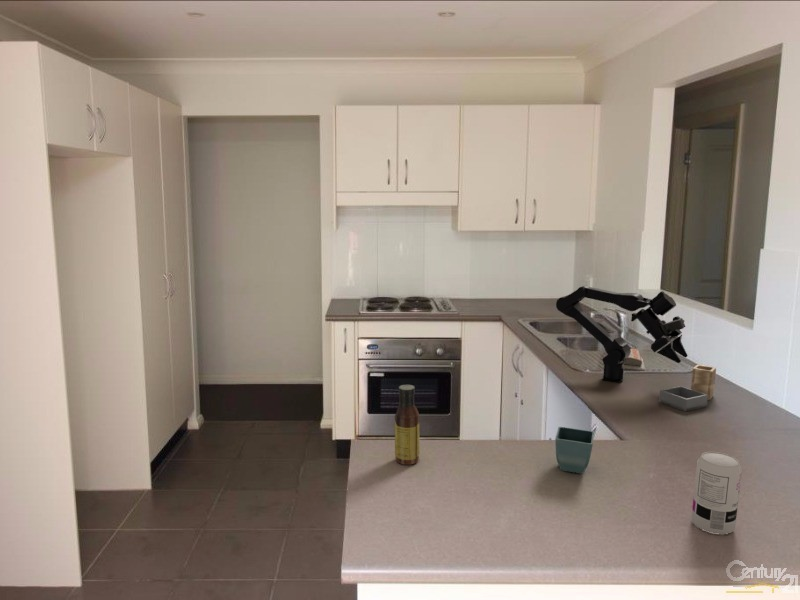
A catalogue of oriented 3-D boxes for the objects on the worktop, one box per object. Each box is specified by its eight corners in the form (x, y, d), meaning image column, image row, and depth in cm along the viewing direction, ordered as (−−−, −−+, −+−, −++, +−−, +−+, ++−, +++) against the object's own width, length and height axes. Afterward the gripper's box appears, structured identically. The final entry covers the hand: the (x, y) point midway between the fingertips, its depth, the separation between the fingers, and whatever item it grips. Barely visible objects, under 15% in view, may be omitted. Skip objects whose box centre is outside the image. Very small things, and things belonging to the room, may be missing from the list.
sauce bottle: (407, 453, 165) (408, 380, 162) (424, 461, 161) (426, 386, 157) (388, 461, 161) (389, 386, 157) (406, 468, 156) (407, 392, 153)
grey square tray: (658, 401, 208) (660, 390, 207) (679, 397, 213) (680, 385, 212) (685, 411, 199) (687, 399, 199) (706, 406, 204) (708, 394, 203)
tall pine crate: (690, 396, 214) (693, 368, 212) (694, 392, 218) (697, 364, 217) (709, 400, 210) (712, 371, 208) (713, 395, 215) (716, 367, 213)
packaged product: (617, 346, 263) (643, 348, 260) (616, 357, 264) (641, 360, 261) (618, 357, 246) (646, 359, 243) (617, 369, 247) (644, 371, 244)
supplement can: (683, 516, 135) (690, 450, 133) (720, 515, 136) (727, 450, 133) (704, 537, 127) (712, 467, 125) (743, 536, 128) (751, 466, 125)
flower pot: (591, 464, 160) (594, 430, 159) (590, 479, 152) (592, 443, 151) (556, 458, 163) (558, 426, 162) (553, 473, 155) (555, 438, 153)
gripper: (663, 313, 209) (696, 351, 204) (677, 305, 224) (708, 340, 219) (637, 333, 215) (668, 370, 210) (653, 324, 230) (682, 358, 225)
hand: (683, 359), depth 216 cm, fingers open, 9 cm apart
